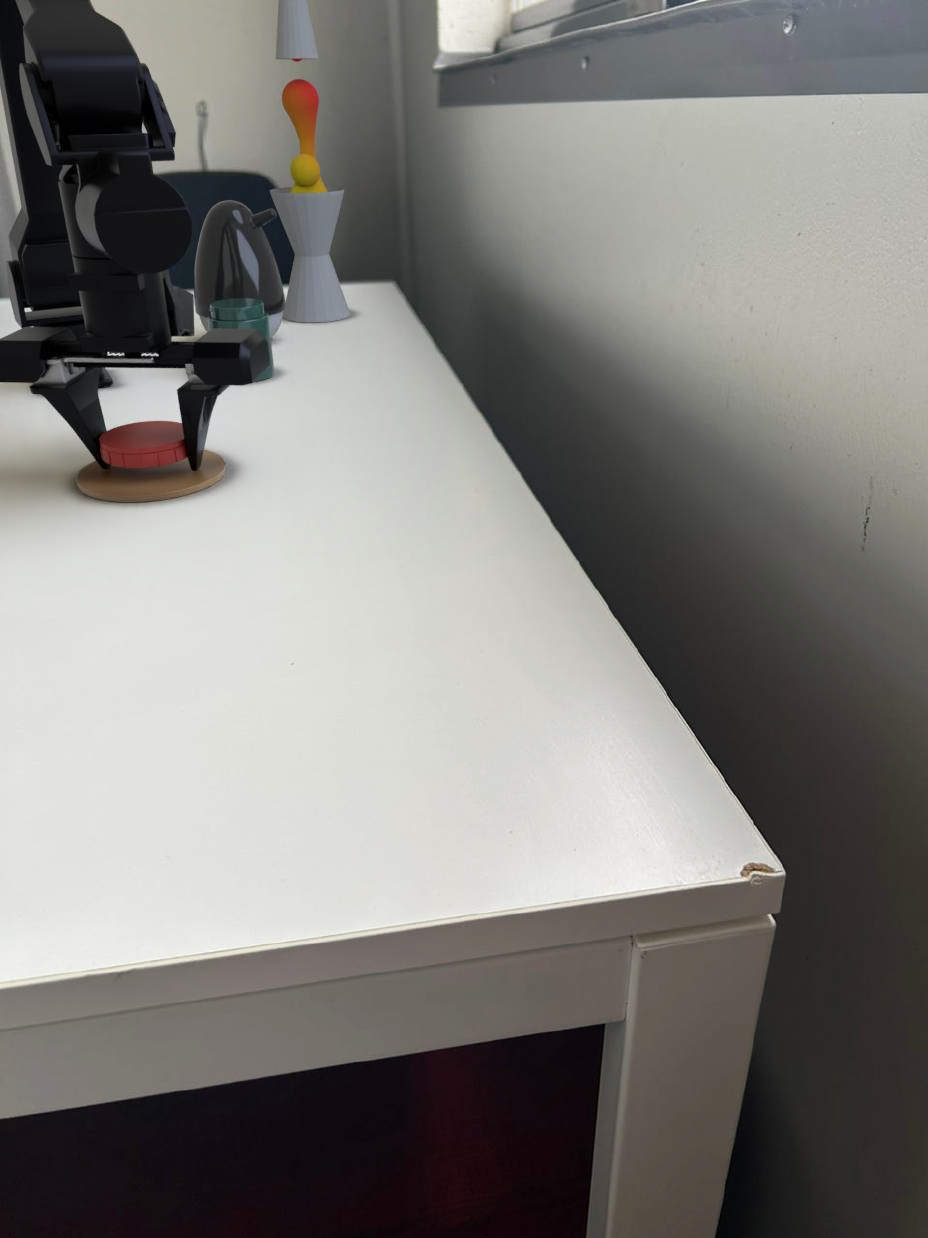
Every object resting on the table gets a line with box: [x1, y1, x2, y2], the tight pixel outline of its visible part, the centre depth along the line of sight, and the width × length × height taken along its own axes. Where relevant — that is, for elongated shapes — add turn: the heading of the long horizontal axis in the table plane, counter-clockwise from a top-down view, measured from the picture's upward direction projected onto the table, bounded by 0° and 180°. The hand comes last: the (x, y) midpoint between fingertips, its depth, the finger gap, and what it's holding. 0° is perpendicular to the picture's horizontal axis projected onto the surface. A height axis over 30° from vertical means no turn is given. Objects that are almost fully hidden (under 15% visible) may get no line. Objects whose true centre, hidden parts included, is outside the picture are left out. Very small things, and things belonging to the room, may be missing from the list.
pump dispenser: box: [193, 199, 286, 339], centre depth 111 cm, size 10×10×15 cm
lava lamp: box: [269, 0, 351, 323], centre depth 119 cm, size 9×9×35 cm
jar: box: [208, 298, 275, 383], centre depth 100 cm, size 6×6×7 cm
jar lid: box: [99, 420, 187, 468], centre depth 75 cm, size 7×7×2 cm
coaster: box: [75, 449, 227, 503], centre depth 76 cm, size 11×11×1 cm
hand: (152, 468), depth 75 cm, fingers closed on jar lid, 7 cm apart
